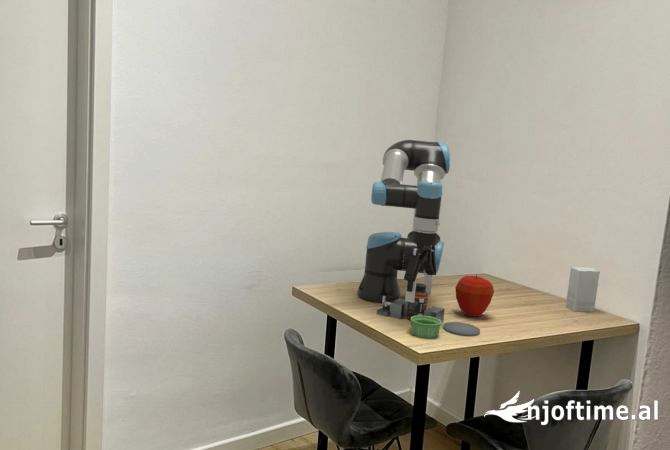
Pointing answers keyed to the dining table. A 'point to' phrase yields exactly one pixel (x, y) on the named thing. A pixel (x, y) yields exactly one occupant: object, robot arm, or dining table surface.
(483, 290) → the apple
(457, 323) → the coaster
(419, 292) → the supplement bottle
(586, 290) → the skincare box
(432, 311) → the vise
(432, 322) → the ramekin
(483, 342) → the dining table surface
